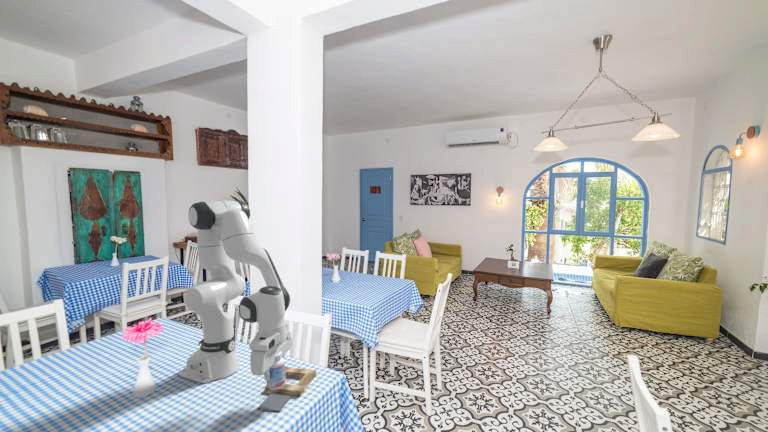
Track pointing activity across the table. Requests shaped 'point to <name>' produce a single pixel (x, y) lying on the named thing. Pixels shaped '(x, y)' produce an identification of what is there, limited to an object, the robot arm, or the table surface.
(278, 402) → the coaster
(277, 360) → the pill bottle
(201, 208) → the robot arm
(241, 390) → the table surface
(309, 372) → the holder
